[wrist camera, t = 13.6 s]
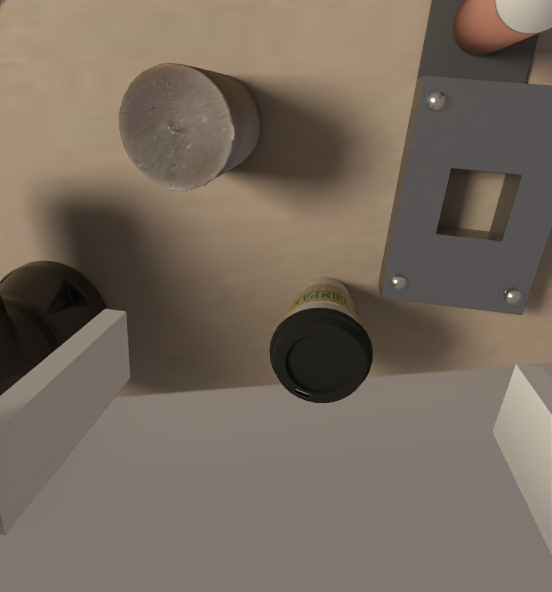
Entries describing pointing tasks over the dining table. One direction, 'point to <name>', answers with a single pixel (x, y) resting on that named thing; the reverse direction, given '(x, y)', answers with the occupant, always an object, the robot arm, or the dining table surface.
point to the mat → (457, 64)
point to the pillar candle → (187, 125)
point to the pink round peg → (499, 23)
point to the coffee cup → (321, 344)
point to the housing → (483, 157)
